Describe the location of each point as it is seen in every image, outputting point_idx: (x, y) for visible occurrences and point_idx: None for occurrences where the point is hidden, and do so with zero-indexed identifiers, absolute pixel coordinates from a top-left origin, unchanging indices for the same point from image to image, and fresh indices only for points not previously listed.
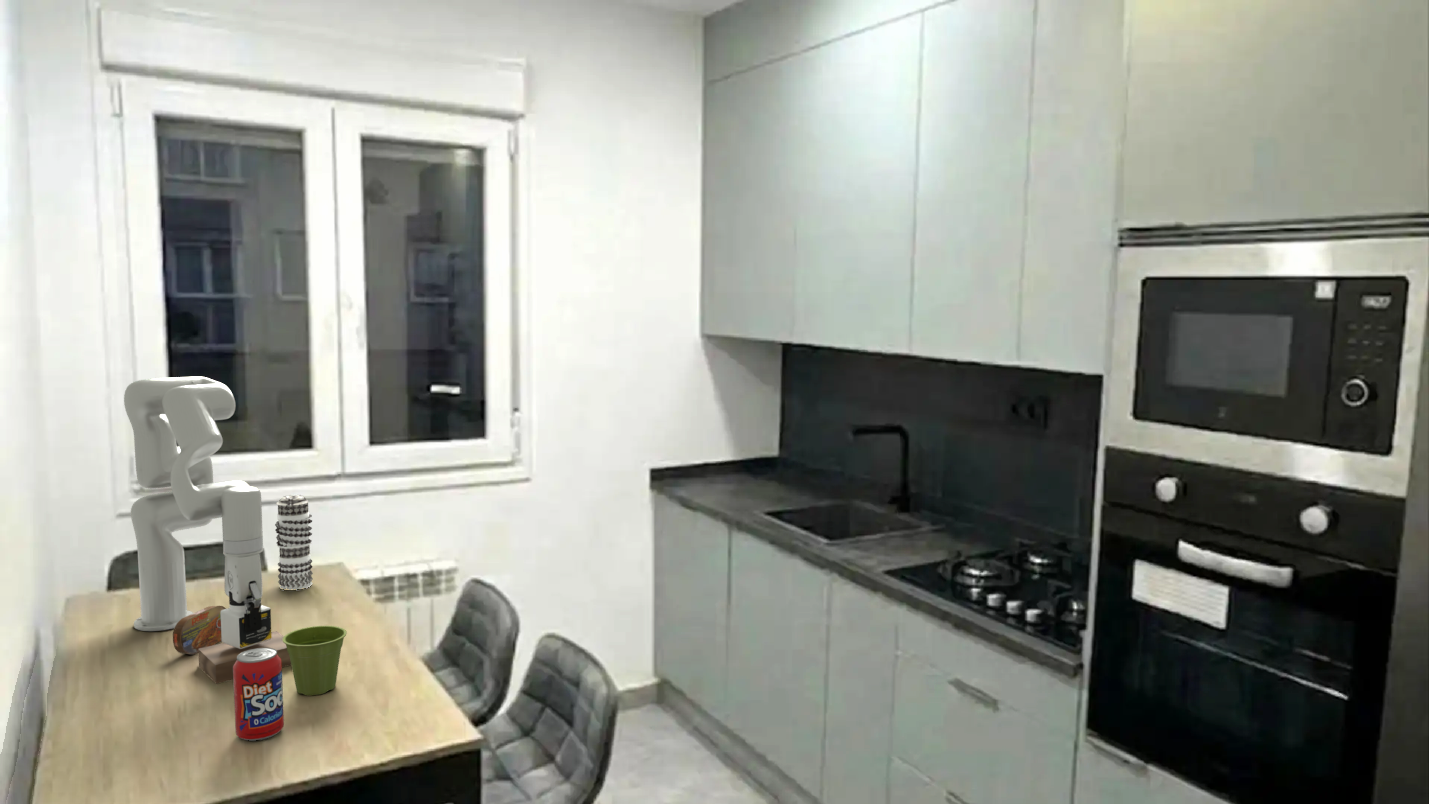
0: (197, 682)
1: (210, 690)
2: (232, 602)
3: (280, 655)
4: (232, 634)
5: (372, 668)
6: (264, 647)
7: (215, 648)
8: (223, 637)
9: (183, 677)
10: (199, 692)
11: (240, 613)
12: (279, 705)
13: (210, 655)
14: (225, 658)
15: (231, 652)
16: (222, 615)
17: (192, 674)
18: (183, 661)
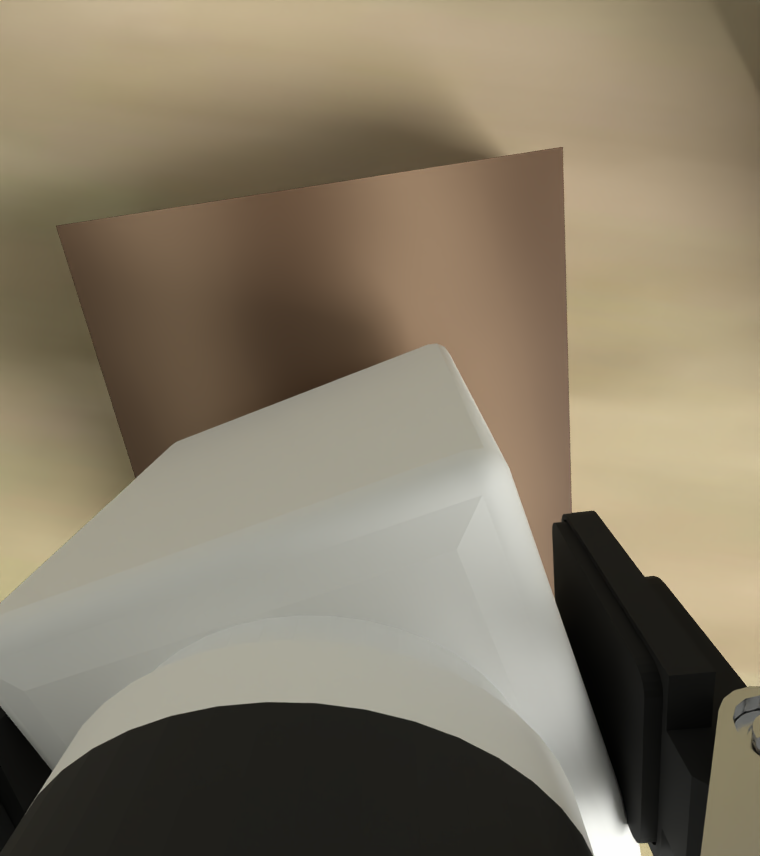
0: (222, 120)
1: (35, 179)
2: (82, 808)
3: None
4: (232, 444)
5: None
6: None
7: (472, 286)
8: (401, 364)
9: (374, 38)
10: (26, 107)
11: (62, 696)
12: None
13: (315, 222)
14: (179, 319)
15: (299, 380)
16: (410, 449)
17: (399, 108)
18: (718, 81)
